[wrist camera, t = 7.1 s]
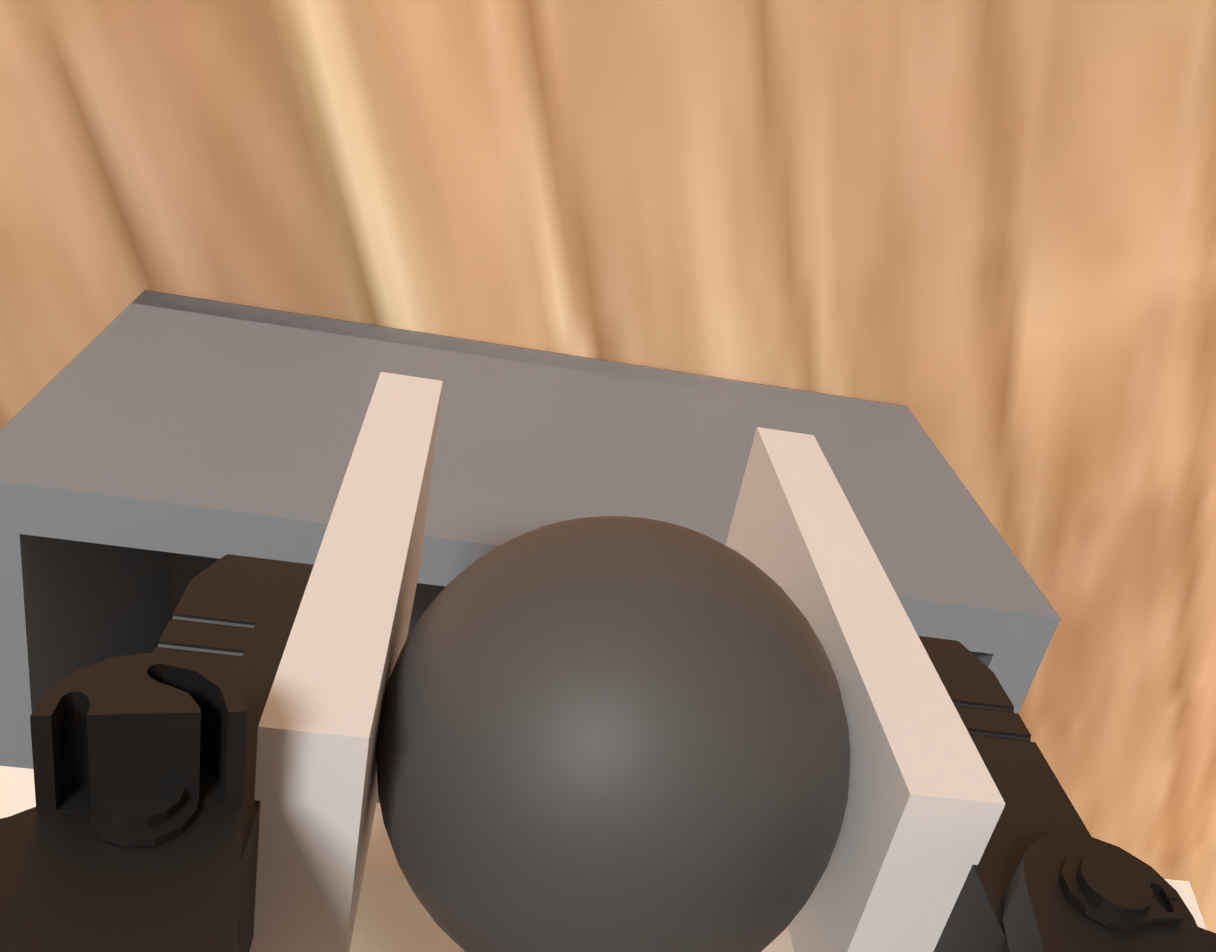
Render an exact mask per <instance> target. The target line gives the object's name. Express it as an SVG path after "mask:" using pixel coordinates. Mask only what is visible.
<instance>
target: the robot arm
mask: <svg viewBox="0 0 1216 952" xmlns="http://www.w3.org/2000/svg"><path fill="white" fill-rule="evenodd" d="M442 384H443V381H441V380H434V379H427V378H420V377H413V376H406V375H400V374H393V373H386V372H380V375H379V378H378V381H377V384H376V387H375V390H374V392H373V395H372V398H371V401H370V404H369V407H368V410H367V413H366V416H365V419H364V421H363V424H362V427H361V430H360V433H359V436H358V439H357V442H356V445H355V447H354V450H353V453H352V456H351V459H350V462H349V465H348V468H347V471H346V474H345V476H344V479H343V482H342V485H341V488H340V491H339V494H338V497H337V500H336V502H335V505H334V508H333V511H332V514H331V517H330V520H329V523H328V526H327V529H326V531H325V534H324V537H323V540H322V543H321V546H320V549H319V552H318V555H317V557H316V560H315V563H314V565H312V564H304V563H296V562H288V561H280V560H272V559H263V558H255V557H247V556H239V555H231V554H226V555H225V556H224V557H222V558H221V559H219V560H218V561H217V562H215V563H214V564H212V565H211V566H210V567H208V568H207V569H205V570H204V571H202V572H201V573H200V574H198V575H197V576H195V577H194V578H193V579H191V580H190V582H189V584H188V586H187V588H186V590H185V592H184V593H183V595H182V597H181V599H180V601H179V603H178V605H177V607H176V609H175V611H174V613H173V618H172V620H169V622H168V624H167V626H166V628H165V630H164V632H163V634H162V636H161V637H160V639H159V643H158V648H155V649H154V651H153V653H144V654H135V655H127V656H118V657H111V658H108V659H106V660H103V661H100V662H97V663H94V664H92V665H89V666H86V667H83V668H80V669H77V670H75V671H73V672H72V673H71V674H69V675H68V676H66V677H65V678H63V679H62V680H61V681H59V682H58V683H56V684H55V685H54V686H52V687H51V688H49V689H48V690H47V691H46V692H45V693H44V695H43V696H42V698H41V700H40V701H39V703H38V704H37V706H36V708H35V709H34V711H33V712H32V714H31V716H30V725H31V740H32V755H33V770H34V785H35V800H36V807H33V808H31V809H28V810H25V811H23V812H20V813H17V814H15V815H12V816H10V817H6V818H1V819H0V952H350V946H351V941H352V935H353V930H354V925H355V919H356V914H357V908H358V903H359V897H360V892H361V886H362V881H363V875H364V870H365V864H366V859H367V853H368V848H369V843H370V837H371V832H372V826H373V821H374V815H375V810H376V804H377V799H378V784H377V765H376V749H377V741H378V734H379V727H380V719H381V712H382V706H383V701H384V697H385V693H386V689H387V685H388V681H389V678H390V676H391V673H392V671H393V669H394V666H395V664H396V662H397V659H398V657H399V655H400V652H401V650H402V648H403V646H404V644H405V642H406V640H407V635H408V629H409V624H410V618H411V613H412V607H413V602H414V597H415V591H416V586H417V580H418V575H419V569H420V562H421V554H422V546H423V538H424V529H425V521H426V513H427V505H428V497H429V489H430V481H431V473H432V465H433V457H434V449H435V441H436V432H437V424H438V416H439V408H440V400H441V392H442ZM725 546H727V547H729V548H731V549H733V550H735V551H737V552H738V553H740V554H741V555H742V556H744V557H745V558H747V559H748V560H750V561H751V562H752V563H754V564H755V565H756V566H757V567H758V568H760V569H761V570H762V571H763V572H765V573H766V574H767V575H768V576H769V577H770V578H771V579H772V580H773V581H775V582H776V583H777V584H778V585H779V586H780V587H781V588H782V589H783V590H784V592H785V593H786V594H787V595H788V596H789V598H790V599H791V600H792V601H793V602H794V603H795V605H796V606H797V607H798V608H799V610H800V611H801V612H802V614H803V615H804V616H805V618H806V619H807V620H808V622H809V623H810V625H811V627H812V629H813V630H814V632H815V634H816V635H817V637H818V639H819V640H820V642H821V644H822V646H823V648H824V650H825V652H826V654H827V656H828V658H829V661H830V663H831V666H832V668H833V671H834V673H835V676H836V678H837V681H838V684H839V688H840V693H841V697H842V701H843V706H844V710H845V714H846V719H847V723H848V731H849V744H850V773H849V787H848V800H847V804H846V809H845V813H844V818H843V822H842V827H841V830H840V833H839V836H838V839H837V842H836V845H835V847H834V850H833V853H832V855H831V858H830V860H829V863H828V866H827V868H826V870H825V872H824V873H823V875H822V877H821V879H820V881H819V882H818V884H817V886H816V888H815V889H814V891H813V893H812V895H811V896H810V898H809V899H808V901H807V902H806V904H805V905H804V907H803V908H802V909H801V910H800V912H799V913H798V914H797V915H796V917H795V918H794V919H793V920H792V922H791V923H790V924H789V925H788V928H789V932H790V936H791V940H792V944H793V948H794V952H1216V933H1213V932H1210V931H1207V930H1205V929H1203V928H1200V927H1198V926H1197V924H1196V922H1195V919H1194V917H1193V915H1192V914H1191V912H1190V911H1189V909H1188V908H1187V906H1186V905H1185V903H1184V901H1183V900H1182V898H1181V897H1180V895H1179V894H1178V892H1177V891H1176V890H1175V889H1174V888H1173V887H1172V886H1171V885H1170V884H1169V883H1168V882H1167V881H1166V880H1165V879H1163V878H1162V877H1161V876H1160V875H1159V874H1158V873H1157V872H1156V871H1155V870H1154V869H1153V868H1152V867H1151V866H1149V865H1147V864H1146V863H1144V862H1143V861H1141V860H1139V859H1138V858H1136V857H1134V856H1133V855H1131V854H1129V853H1128V852H1126V851H1125V850H1123V849H1121V848H1120V847H1117V846H1114V845H1112V844H1109V843H1106V842H1104V841H1101V840H1098V839H1095V838H1093V837H1091V835H1090V834H1089V832H1088V830H1087V829H1086V827H1085V825H1084V824H1083V822H1082V820H1081V818H1080V817H1079V815H1078V813H1077V812H1076V810H1075V808H1074V807H1073V805H1072V803H1071V802H1070V800H1069V798H1068V797H1067V795H1066V793H1065V792H1064V790H1063V788H1062V787H1061V785H1060V783H1059V781H1058V780H1057V778H1056V776H1055V775H1054V773H1053V771H1052V770H1051V768H1050V766H1049V765H1048V763H1047V761H1046V760H1045V758H1044V756H1043V755H1042V753H1041V751H1040V749H1039V748H1038V746H1037V744H1036V743H1035V742H1031V741H1030V737H1031V734H1030V733H1029V731H1028V729H1027V728H1026V726H1025V724H1024V723H1023V721H1022V719H1021V718H1020V716H1019V714H1016V713H1014V706H1013V704H1012V702H1011V701H1010V699H1009V697H1008V696H1007V694H1006V692H1005V691H1004V689H1003V687H1002V686H1001V684H1000V682H999V681H998V679H997V677H996V675H995V674H994V672H993V671H991V670H990V669H989V668H988V667H987V666H986V665H985V664H984V663H982V662H981V661H980V660H979V659H978V658H977V657H976V656H975V655H974V654H972V653H971V652H970V651H969V650H968V649H967V648H966V647H965V646H963V645H962V644H961V643H960V642H959V641H956V640H948V639H940V638H932V637H924V636H918V635H917V633H916V631H915V629H914V627H913V625H912V623H911V621H910V619H909V617H908V615H907V614H906V612H905V610H904V608H903V606H902V604H901V602H900V600H899V598H898V596H897V594H896V592H895V590H894V589H893V587H892V585H891V583H890V581H889V579H888V577H887V575H886V573H885V571H884V569H883V567H882V565H881V564H880V562H879V560H878V558H877V556H876V554H875V552H874V550H873V548H872V546H871V544H870V542H869V540H868V539H867V537H866V535H865V533H864V531H863V529H862V527H861V525H860V523H859V521H858V519H857V517H856V515H855V514H854V512H853V510H852V508H851V506H850V504H849V502H848V500H847V498H846V496H845V494H844V492H843V490H842V489H841V487H840V485H839V483H838V481H837V479H836V477H835V475H834V473H833V471H832V469H831V467H830V465H829V464H828V462H827V460H826V458H825V456H824V454H823V452H822V450H821V448H820V446H819V444H818V442H817V440H816V439H815V437H814V435H809V434H802V433H795V432H788V431H781V430H775V429H768V428H761V427H757V428H756V432H755V436H754V440H753V443H752V447H751V451H750V455H749V458H748V462H747V466H746V470H745V473H744V477H743V481H742V485H741V488H740V492H739V496H738V500H737V503H736V507H735V511H734V515H733V518H732V522H731V526H730V530H729V533H728V537H727V541H726V545H725Z"/></svg>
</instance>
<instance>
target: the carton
mask: <svg viewBox="0 0 1216 952" xmlns="http://www.w3.org/2000/svg"><path fill="white" fill-rule="evenodd" d="M380 372H386V373H393V374H400V375H406V376H413V377H420V378H427V379H434V380H441V381H443V384H442V392H441V400H440V408H439V416H438V424H437V432H436V441H435V449H434V457H433V465H432V473H431V481H430V489H429V497H428V505H427V513H426V521H425V529H424V538H423V546H422V554H421V562H420V569H419V575H418V580H417V586H416V591H415V597H414V602H413V607H412V613H411V618H410V624H409V629H408V635H407V638H408V637H409V635H410V633H411V632H412V630H413V628H414V627H415V625H416V624H417V622H418V620H419V619H420V617H421V616H422V615H423V613H424V612H425V611H426V609H427V608H428V607H429V605H430V604H431V603H432V602H433V601H434V600H435V598H436V597H437V596H438V595H439V594H440V593H441V592H442V590H443V589H444V588H445V587H446V586H447V585H448V584H449V583H450V582H451V581H452V580H453V579H454V578H456V577H457V576H458V575H459V574H460V573H461V572H462V571H464V570H465V569H466V568H467V567H469V566H470V565H471V564H472V563H474V562H475V561H476V560H478V559H479V558H481V557H482V556H483V555H485V554H486V553H488V552H489V551H491V550H492V549H494V548H496V547H498V546H500V545H502V544H504V543H506V542H508V541H510V540H512V539H514V538H516V537H518V536H520V535H522V534H524V533H527V532H529V531H532V530H534V529H537V528H540V527H543V526H546V525H550V524H554V523H557V522H561V521H567V520H573V519H579V518H587V517H600V516H627V517H638V518H647V519H653V520H658V521H664V522H668V523H672V524H676V525H679V526H683V527H686V528H689V529H691V530H694V531H697V532H699V533H702V534H704V535H706V536H708V537H710V538H712V539H714V540H716V541H718V542H720V543H722V544H723V545H726V541H727V537H728V533H729V530H730V526H731V522H732V518H733V515H734V511H735V507H736V503H737V500H738V496H739V492H740V488H741V485H742V481H743V477H744V473H745V470H746V466H747V462H748V458H749V455H750V451H751V447H752V443H753V440H754V436H755V432H756V428H757V427H761V428H768V429H775V430H781V431H788V432H795V433H802V434H809V435H814V437H815V439H816V440H817V442H818V444H819V446H820V448H821V450H822V452H823V454H824V456H825V458H826V460H827V462H828V464H829V465H830V467H831V469H832V471H833V473H834V475H835V477H836V479H837V481H838V483H839V485H840V487H841V489H842V490H843V492H844V494H845V496H846V498H847V500H848V502H849V504H850V506H851V508H852V510H853V512H854V514H855V515H856V517H857V519H858V521H859V523H860V525H861V527H862V529H863V531H864V533H865V535H866V537H867V539H868V540H869V542H870V544H871V546H872V548H873V550H874V552H875V554H876V556H877V558H878V560H879V562H880V564H881V565H882V567H883V569H884V571H885V573H886V575H887V577H888V579H889V581H890V583H891V585H892V587H893V589H894V590H895V592H896V594H897V596H898V598H899V600H900V602H901V604H902V606H903V608H904V610H905V612H906V614H907V615H908V617H909V619H910V621H911V623H912V625H913V627H914V629H915V631H916V633H917V635H918V636H924V637H932V638H940V639H948V640H956V641H959V642H960V643H961V644H962V645H963V646H965V647H966V648H967V649H968V650H969V651H970V652H971V653H972V654H974V655H975V656H976V657H977V658H978V659H979V660H980V661H981V662H982V663H984V664H985V665H986V666H987V667H988V668H989V669H990V670H991V671H993V672H994V674H995V675H996V677H997V679H998V681H999V682H1000V684H1001V686H1002V687H1003V689H1004V691H1005V692H1006V694H1007V696H1008V697H1009V699H1010V701H1011V702H1012V704H1013V706H1014V713H1016V714H1018V713H1019V710H1020V708H1021V706H1022V703H1023V701H1024V699H1025V697H1026V694H1027V692H1028V690H1029V688H1030V685H1031V683H1032V681H1033V679H1034V676H1035V674H1036V672H1037V670H1038V667H1039V665H1040V663H1041V661H1042V658H1043V656H1044V654H1045V652H1046V649H1047V647H1048V645H1049V643H1050V640H1051V638H1052V636H1053V634H1054V631H1055V629H1056V627H1057V625H1058V622H1059V620H1060V617H1059V615H1058V614H1057V613H1056V611H1055V610H1054V609H1053V607H1052V606H1051V604H1050V603H1049V602H1048V600H1047V599H1046V598H1045V596H1044V595H1043V593H1042V592H1041V591H1040V589H1039V588H1038V587H1037V585H1036V584H1035V582H1034V581H1033V580H1032V578H1031V577H1030V575H1029V574H1028V573H1027V571H1026V570H1025V569H1024V567H1023V566H1022V564H1021V563H1020V562H1019V560H1018V559H1017V558H1016V556H1015V555H1014V553H1013V552H1012V551H1011V549H1010V548H1009V547H1008V545H1007V544H1006V542H1005V541H1004V540H1003V538H1002V537H1001V535H1000V534H999V533H998V531H997V530H996V529H995V527H994V526H993V524H992V523H991V522H990V520H989V519H988V518H987V516H986V515H985V513H984V512H983V511H982V509H981V508H980V507H979V505H978V504H977V502H976V501H975V500H974V498H973V497H972V495H971V494H970V493H969V491H968V490H967V489H966V487H965V486H964V484H963V483H962V482H961V480H960V479H959V478H958V476H957V475H956V473H955V472H954V471H953V469H952V468H951V467H950V465H949V464H948V462H947V461H946V460H945V458H944V457H943V455H942V454H941V453H940V451H939V450H938V449H937V447H936V446H935V444H934V443H933V442H932V440H931V439H930V438H929V436H928V435H927V433H926V432H925V431H924V429H923V428H922V427H921V425H920V424H919V422H918V421H917V420H916V418H915V417H914V415H913V414H912V413H911V411H910V410H909V409H908V407H907V406H900V405H894V404H887V403H880V402H874V401H867V400H861V399H854V398H848V397H841V396H835V395H828V394H821V393H815V392H808V391H802V390H795V389H789V388H782V387H776V386H769V385H763V384H756V383H749V382H743V381H736V380H730V379H723V378H717V377H710V376H704V375H697V374H690V373H684V372H677V371H671V370H664V369H658V368H651V367H645V366H638V365H632V364H625V363H618V362H612V361H605V360H599V359H592V358H586V357H579V356H573V355H566V354H559V353H553V352H546V351H540V350H533V349H527V348H520V347H514V346H507V345H501V344H494V343H487V342H481V341H474V340H468V339H461V338H455V337H448V336H442V335H435V334H428V333H422V332H415V331H409V330H402V329H396V328H389V327H383V326H376V325H370V324H363V323H356V322H350V321H343V320H337V319H330V318H324V317H317V316H311V315H304V314H297V313H291V312H284V311H278V310H271V309H265V308H258V307H252V306H245V305H238V304H232V303H225V302H219V301H212V300H206V299H199V298H193V297H186V296H180V295H173V294H166V293H160V292H153V291H147V290H144V291H143V292H142V293H141V294H140V295H139V296H138V297H137V298H136V299H135V300H134V301H133V302H132V303H131V304H130V305H129V306H128V307H127V308H126V309H125V310H124V311H123V312H122V313H121V314H120V315H119V316H118V317H117V318H116V319H115V320H113V321H112V322H111V323H110V324H109V325H108V326H107V327H106V328H105V329H104V330H103V331H102V332H101V333H100V334H99V335H98V336H97V337H96V338H95V339H94V340H93V341H92V342H91V343H90V344H89V345H88V346H87V347H86V348H85V349H83V350H82V351H81V352H80V353H79V354H78V355H77V356H76V357H75V358H74V359H73V360H72V361H71V362H70V363H69V364H68V365H67V366H66V367H65V368H64V369H63V370H62V371H61V372H60V373H59V374H58V375H57V376H56V377H55V378H54V379H52V380H51V381H50V382H49V383H48V384H47V385H46V386H45V387H44V388H43V389H42V390H41V391H40V392H39V393H38V394H37V395H36V396H35V397H34V398H33V399H32V400H31V401H30V402H29V403H28V404H27V405H26V406H25V407H24V408H22V409H21V410H20V411H19V412H18V413H17V414H16V415H15V416H14V417H13V418H12V419H11V420H10V421H9V422H8V423H7V424H6V425H5V426H4V427H3V428H2V429H1V430H0V766H8V767H18V768H29V769H33V755H32V740H31V725H30V716H31V714H32V712H33V711H34V709H35V708H36V706H37V704H38V703H39V701H40V700H41V698H42V696H43V695H44V693H45V692H46V691H47V690H48V689H49V688H51V687H52V686H54V685H55V684H56V683H58V682H59V681H61V680H62V679H63V678H65V677H66V676H68V675H69V674H71V673H72V672H73V671H75V670H77V669H80V668H83V667H86V666H89V665H92V664H94V663H97V662H100V661H103V660H106V659H108V658H111V657H118V656H127V655H135V654H144V653H153V651H154V649H155V648H158V643H159V639H160V637H161V636H162V634H163V632H164V630H165V628H166V626H167V624H168V622H169V620H172V618H173V613H174V611H175V609H176V607H177V605H178V603H179V601H180V599H181V597H182V595H183V593H184V592H185V590H186V588H187V586H188V584H189V582H190V580H191V579H193V578H194V577H195V576H197V575H198V574H200V573H201V572H202V571H204V570H205V569H207V568H208V567H210V566H211V565H212V564H214V563H215V562H217V561H218V560H219V559H221V558H222V557H224V556H225V555H226V554H231V555H239V556H247V557H255V558H263V559H272V560H280V561H288V562H296V563H304V564H312V565H314V563H315V560H316V557H317V555H318V552H319V549H320V546H321V543H322V540H323V537H324V534H325V531H326V529H327V526H328V523H329V520H330V517H331V514H332V511H333V508H334V505H335V502H336V500H337V497H338V494H339V491H340V488H341V485H342V482H343V479H344V476H345V474H346V471H347V468H348V465H349V462H350V459H351V456H352V453H353V450H354V447H355V445H356V442H357V439H358V436H359V433H360V430H361V427H362V424H363V421H364V419H365V416H366V413H367V410H368V407H369V404H370V401H371V398H372V395H373V392H374V390H375V387H376V384H377V381H378V378H379V375H380ZM377 802H378V803H380V802H379V797H378V799H377Z"/></svg>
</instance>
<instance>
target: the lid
mask: <svg viewBox="0 0 1216 952" xmlns="http://www.w3.org/2000/svg"><path fill="white" fill-rule="evenodd" d="M376 765H377V784H378V797H379V802H380V803H378V802H377V804H376V810H375V815H374V821H373V826H372V832H371V837H370V843H369V848H368V853H367V859H366V864H365V870H364V875H363V881H362V886H361V892H360V897H359V903H358V908H357V914H356V919H355V925H354V930H353V935H352V941H351V946H350V952H794V948H793V944H792V940H791V936H790V932H789V928H788V925H789V924H790V923H791V922H792V920H793V919H794V918H795V917H796V915H797V914H798V913H799V912H800V910H801V909H802V908H803V907H804V905H805V904H806V902H807V901H808V899H809V898H810V896H811V895H812V893H813V891H814V889H815V888H816V886H817V884H818V882H819V881H820V879H821V877H822V875H823V873H824V872H825V870H826V868H827V866H828V863H829V860H830V858H831V855H832V853H833V850H834V847H835V845H836V842H837V839H838V836H839V833H840V830H841V827H842V822H843V818H844V813H845V809H846V804H847V800H848V787H849V773H850V744H849V731H848V723H847V719H846V714H845V710H844V706H843V701H842V697H841V693H840V688H839V684H838V681H837V678H836V676H835V673H834V671H833V668H832V666H831V663H830V661H829V658H828V656H827V654H826V652H825V650H824V648H823V646H822V644H821V642H820V640H819V639H818V637H817V635H816V634H815V632H814V630H813V629H812V627H811V625H810V623H809V622H808V620H807V619H806V618H805V616H804V615H803V614H802V612H801V611H800V610H799V608H798V607H797V606H796V605H795V603H794V602H793V601H792V600H791V599H790V598H789V596H788V595H787V594H786V593H785V592H784V590H783V589H782V588H781V587H780V586H779V585H778V584H777V583H776V582H775V581H773V580H772V579H771V578H770V577H769V576H768V575H767V574H766V573H765V572H763V571H762V570H761V569H760V568H758V567H757V566H756V565H755V564H754V563H752V562H751V561H750V560H748V559H747V558H745V557H744V556H742V555H741V554H740V553H738V552H737V551H735V550H733V549H731V548H729V547H727V546H725V545H723V544H722V543H720V542H718V541H716V540H714V539H712V538H710V537H708V536H706V535H704V534H702V533H699V532H697V531H694V530H691V529H689V528H686V527H683V526H679V525H676V524H672V523H668V522H664V521H658V520H653V519H647V518H638V517H627V516H600V517H587V518H579V519H573V520H567V521H561V522H557V523H554V524H550V525H546V526H543V527H540V528H537V529H534V530H532V531H529V532H527V533H524V534H522V535H520V536H518V537H516V538H514V539H512V540H510V541H508V542H506V543H504V544H502V545H500V546H498V547H496V548H494V549H492V550H491V551H489V552H488V553H486V554H485V555H483V556H482V557H481V558H479V559H478V560H476V561H475V562H474V563H472V564H471V565H470V566H469V567H467V568H466V569H465V570H464V571H462V572H461V573H460V574H459V575H458V576H457V577H456V578H454V579H453V580H452V581H451V582H450V583H449V584H448V585H447V586H446V587H445V588H444V589H443V590H442V592H441V593H440V594H439V595H438V596H437V597H436V598H435V600H434V601H433V602H432V603H431V604H430V605H429V607H428V608H427V609H426V611H425V612H424V613H423V615H422V616H421V617H420V619H419V620H418V622H417V624H416V625H415V627H414V628H413V630H412V632H411V633H410V635H409V637H408V638H407V640H406V642H405V644H404V646H403V648H402V650H401V652H400V655H399V657H398V659H397V662H396V664H395V666H394V669H393V671H392V673H391V676H390V678H389V681H388V685H387V689H386V693H385V697H384V701H383V706H382V712H381V719H380V727H379V734H378V741H377V749H376ZM33 807H36V800H35V785H34V770H33V769H29V768H18V767H8V766H0V819H1V818H6V817H10V816H12V815H15V814H17V813H20V812H23V811H25V810H28V809H31V808H33ZM1165 880H1166V881H1167V882H1168V883H1169V884H1170V885H1171V886H1172V887H1173V888H1174V889H1175V890H1176V891H1177V892H1178V894H1179V895H1180V897H1181V898H1182V900H1183V901H1184V903H1185V905H1186V906H1187V908H1188V909H1189V911H1190V912H1191V914H1192V915H1193V917H1194V919H1195V922H1196V924H1197V926H1198V927H1200V928H1203V929H1205V930H1206V927H1205V924H1204V922H1203V919H1202V916H1201V913H1200V910H1199V908H1198V905H1197V902H1196V899H1195V896H1194V894H1193V891H1192V888H1191V885H1190V882H1189V881H1180V880H1170V879H1165Z"/></svg>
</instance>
